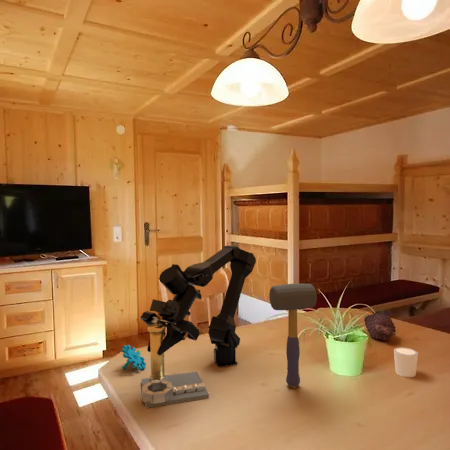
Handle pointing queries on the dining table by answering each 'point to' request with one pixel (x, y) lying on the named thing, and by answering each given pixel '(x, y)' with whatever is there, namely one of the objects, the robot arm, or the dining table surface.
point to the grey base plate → (178, 381)
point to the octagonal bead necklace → (166, 390)
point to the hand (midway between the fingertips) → (153, 353)
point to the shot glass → (405, 361)
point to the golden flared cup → (156, 350)
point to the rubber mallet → (292, 320)
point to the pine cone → (380, 326)
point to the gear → (133, 357)
